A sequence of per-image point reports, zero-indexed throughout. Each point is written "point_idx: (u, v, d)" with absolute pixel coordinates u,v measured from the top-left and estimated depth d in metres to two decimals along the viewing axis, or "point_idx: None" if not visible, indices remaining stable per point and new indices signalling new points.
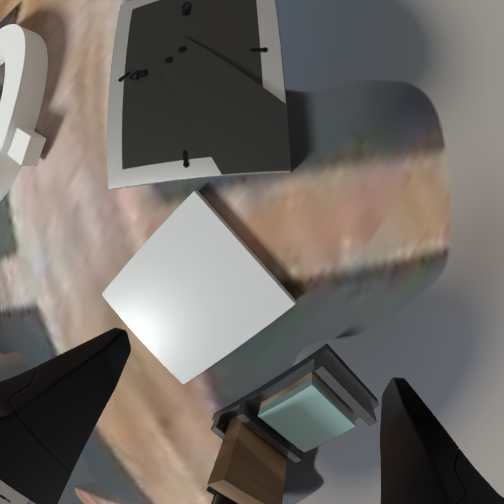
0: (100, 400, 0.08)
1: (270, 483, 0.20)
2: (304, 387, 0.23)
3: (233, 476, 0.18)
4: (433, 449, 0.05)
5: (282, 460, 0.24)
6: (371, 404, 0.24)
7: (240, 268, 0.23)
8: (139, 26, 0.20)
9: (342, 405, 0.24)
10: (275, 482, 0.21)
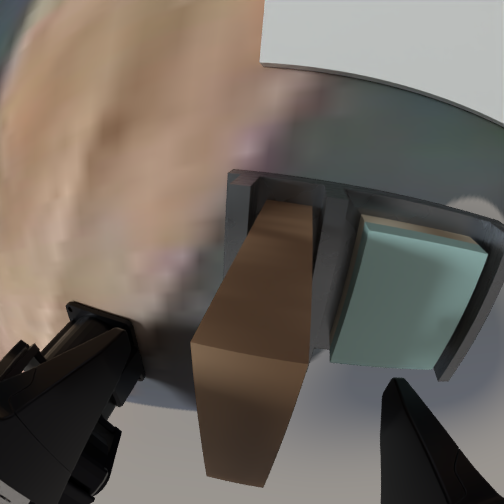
0: (100, 400, 0.08)
1: None
2: (474, 249, 0.10)
3: None
4: (433, 449, 0.05)
5: None
6: None
7: None
8: None
9: None
10: None
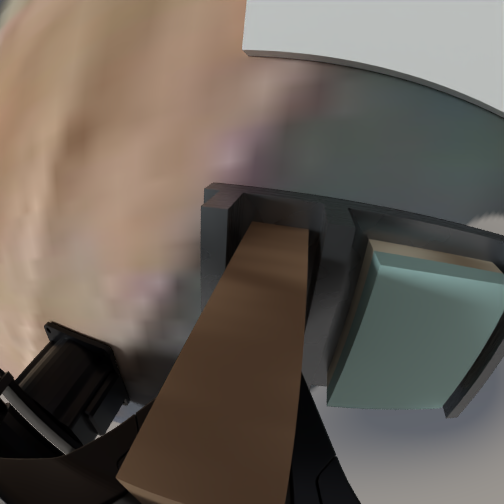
0: None
1: None
2: (500, 281, 0.08)
3: None
4: (298, 449, 0.05)
5: None
6: None
7: None
8: None
9: None
10: None
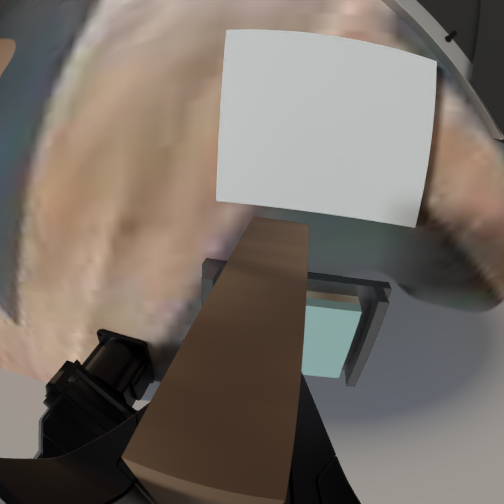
0: None
1: None
2: (351, 309, 0.20)
3: None
4: (298, 450, 0.05)
5: None
6: None
7: (411, 153, 0.16)
8: None
9: None
10: None
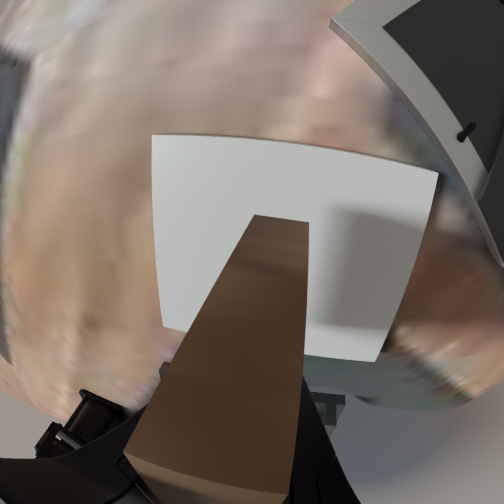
0: None
1: None
2: None
3: None
4: (298, 449, 0.05)
5: None
6: None
7: (379, 295, 0.15)
8: None
9: None
10: None
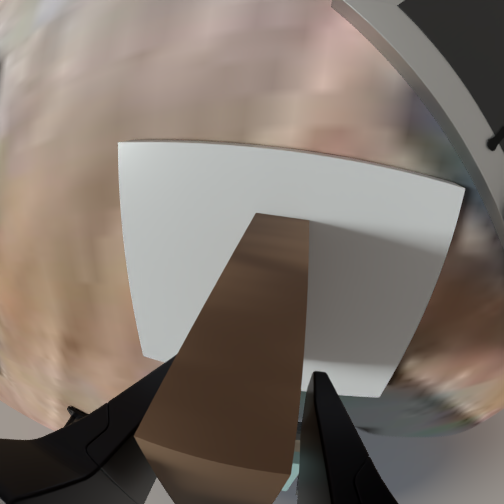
0: None
1: None
2: (293, 460, 0.16)
3: None
4: (333, 452, 0.05)
5: None
6: None
7: (389, 331, 0.12)
8: None
9: None
10: None
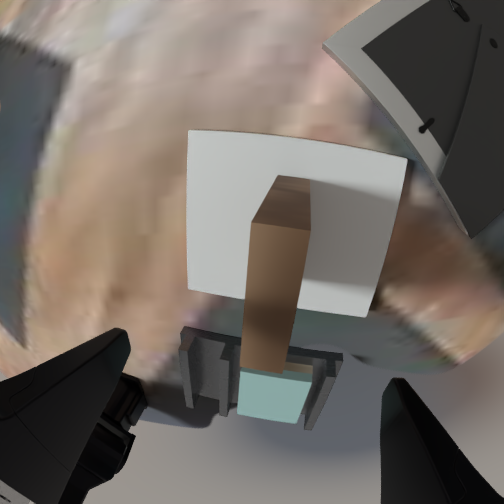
0: (100, 400, 0.08)
1: None
2: (302, 379, 0.23)
3: None
4: (433, 449, 0.05)
5: None
6: None
7: (366, 256, 0.19)
8: None
9: None
10: None
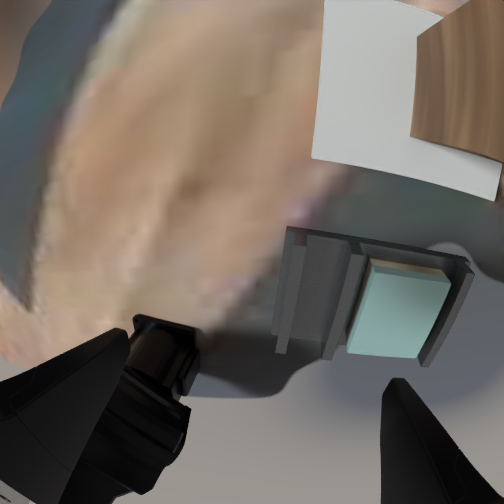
0: (100, 400, 0.08)
1: None
2: (441, 280, 0.17)
3: None
4: (433, 449, 0.05)
5: None
6: None
7: None
8: None
9: None
10: None
